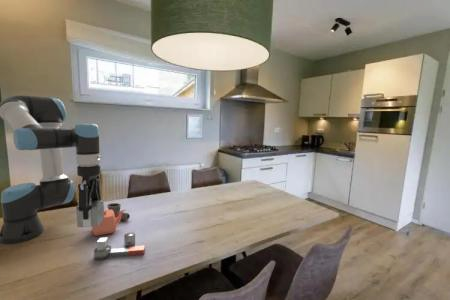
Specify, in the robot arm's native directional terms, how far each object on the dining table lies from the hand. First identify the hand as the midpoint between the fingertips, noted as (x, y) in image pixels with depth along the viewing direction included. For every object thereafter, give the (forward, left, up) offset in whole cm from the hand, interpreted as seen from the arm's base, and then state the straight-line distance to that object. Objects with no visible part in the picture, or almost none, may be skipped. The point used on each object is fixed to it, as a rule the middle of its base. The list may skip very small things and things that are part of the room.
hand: (91, 222), depth 87 cm
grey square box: (0, 0, 0) cm, 0 cm away
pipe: (+1, +35, -15) cm, 38 cm away
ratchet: (+10, 0, -15) cm, 18 cm away
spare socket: (+13, +7, -15) cm, 21 cm away
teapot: (-1, +22, -15) cm, 27 cm away
